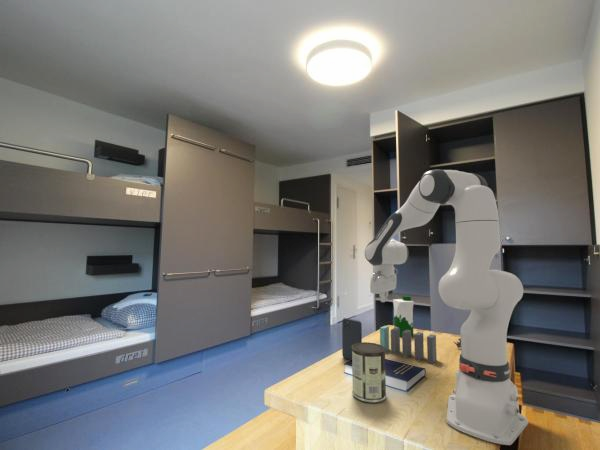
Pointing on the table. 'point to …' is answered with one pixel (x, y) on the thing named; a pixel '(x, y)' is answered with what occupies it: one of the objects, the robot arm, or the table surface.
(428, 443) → the table surface
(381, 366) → the coffee can
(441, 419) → the table surface
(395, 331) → the domino
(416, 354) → the domino
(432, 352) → the domino
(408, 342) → the domino
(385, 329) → the domino
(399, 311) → the milk carton
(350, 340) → the phone case
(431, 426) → the table surface
